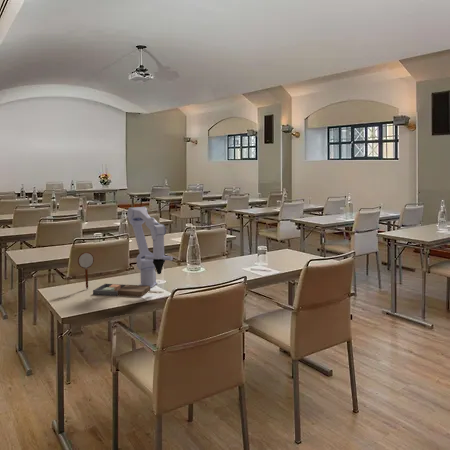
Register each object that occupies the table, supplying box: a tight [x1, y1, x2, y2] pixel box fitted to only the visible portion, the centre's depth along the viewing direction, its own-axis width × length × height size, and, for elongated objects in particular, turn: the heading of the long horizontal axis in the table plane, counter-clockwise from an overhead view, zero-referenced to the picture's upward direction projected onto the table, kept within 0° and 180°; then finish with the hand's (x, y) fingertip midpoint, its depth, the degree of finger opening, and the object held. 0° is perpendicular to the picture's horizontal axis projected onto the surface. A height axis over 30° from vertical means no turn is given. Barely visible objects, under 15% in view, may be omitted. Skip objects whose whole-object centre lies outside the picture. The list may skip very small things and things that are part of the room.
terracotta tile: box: [109, 283, 121, 291], centre depth 257 cm, size 4×4×2 cm
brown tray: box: [117, 284, 151, 298], centre depth 252 cm, size 12×13×2 cm
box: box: [92, 283, 127, 297], centre depth 255 cm, size 14×13×2 cm
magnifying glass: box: [77, 251, 95, 290], centre depth 258 cm, size 9×2×20 cm, turn 126°
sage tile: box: [102, 287, 114, 291], centre depth 251 cm, size 4×4×2 cm
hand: (159, 273), depth 254 cm, fingers closed
